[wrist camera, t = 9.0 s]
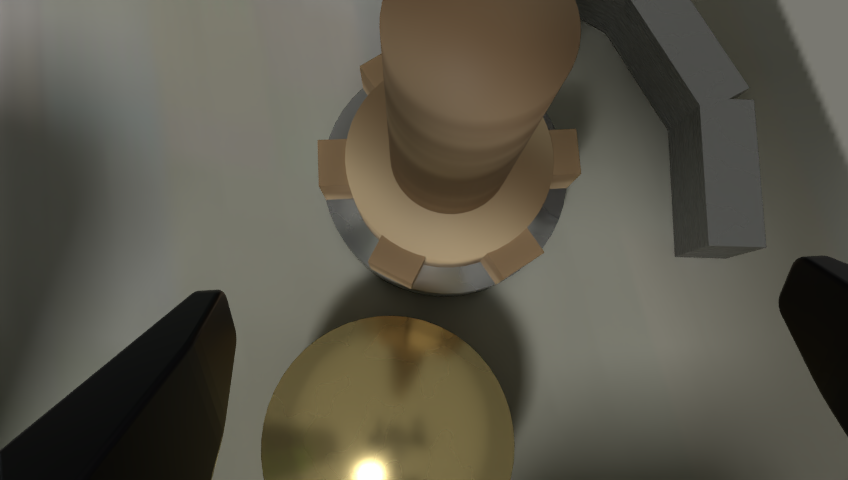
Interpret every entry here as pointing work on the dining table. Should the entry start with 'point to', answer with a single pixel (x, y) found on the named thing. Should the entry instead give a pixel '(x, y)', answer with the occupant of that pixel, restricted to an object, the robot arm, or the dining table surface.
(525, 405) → the dining table surface
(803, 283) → the robot arm
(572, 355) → the dining table surface
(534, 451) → the dining table surface
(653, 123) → the dining table surface
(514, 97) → the gear
